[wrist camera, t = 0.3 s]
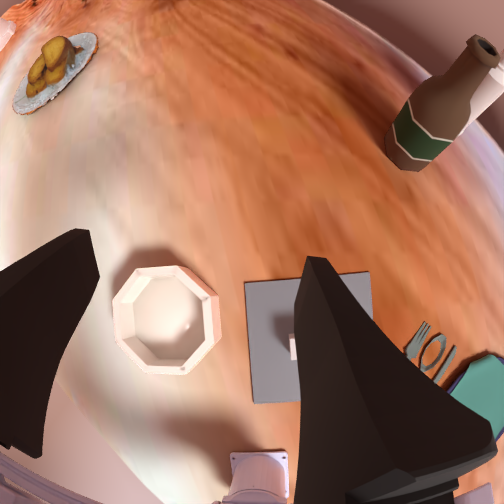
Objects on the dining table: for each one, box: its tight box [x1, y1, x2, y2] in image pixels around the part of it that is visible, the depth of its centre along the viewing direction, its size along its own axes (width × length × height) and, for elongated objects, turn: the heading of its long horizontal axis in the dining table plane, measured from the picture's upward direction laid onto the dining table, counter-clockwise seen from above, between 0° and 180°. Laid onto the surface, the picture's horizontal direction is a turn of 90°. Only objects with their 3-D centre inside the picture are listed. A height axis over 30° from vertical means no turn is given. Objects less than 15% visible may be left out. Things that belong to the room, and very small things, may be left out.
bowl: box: [112, 265, 222, 375], centre depth 36 cm, size 13×13×4 cm
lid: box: [245, 272, 373, 404], centre depth 34 cm, size 16×16×5 cm
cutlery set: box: [405, 322, 504, 441], centre depth 32 cm, size 20×30×2 cm, turn 54°
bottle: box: [457, 50, 504, 137], centre depth 25 cm, size 5×5×25 cm
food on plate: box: [13, 32, 98, 115], centre depth 44 cm, size 26×25×7 cm
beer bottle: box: [384, 35, 501, 172], centre depth 26 cm, size 8×8×24 cm
